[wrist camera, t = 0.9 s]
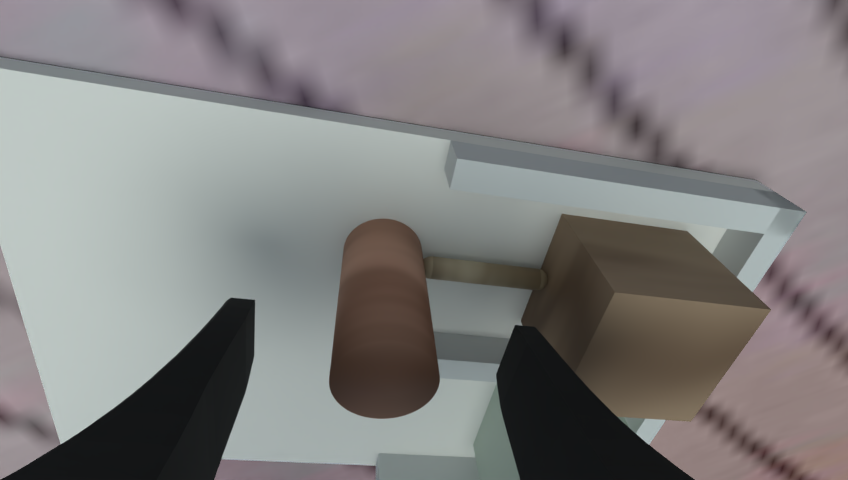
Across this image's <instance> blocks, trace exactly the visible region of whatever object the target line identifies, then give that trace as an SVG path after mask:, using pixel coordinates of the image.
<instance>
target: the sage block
mask: <svg viewBox="0 0 848 480" xmlns="http://www.w3.org/2000/svg"><path fill="white" fill-rule="evenodd" d="M618 418H619V419H620V420H621V421H622V422H623V423H624V424H626V425H627V426H628V424H627V422H626V420H625V418H624V417H618ZM628 427H629V426H628ZM473 447H474V452H475V458H476V463H477V468H478V473H479V479H480V480H520V477H519V474H518V470H517V467H516V463H515V459H514V456H513V452H512V449H511V445H510V442H509V438H508V434H507V431H506V427H505V423H504V420H503V416H502V412H501V408H500V402H499V395H498V388H497V384H496V386H495V389H494V392H493V394H492V397H491V399H490V402H489V405H488V407H487V410H486V412H485V415H484V418H483V420H482V423H481V425H480V428H479V431H478V433H477V436H476V438H475V441H474V444H473Z"/></svg>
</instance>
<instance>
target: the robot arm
mask: <svg viewBox="0 0 848 480" xmlns="http://www.w3.org/2000/svg"><path fill="white" fill-rule="evenodd" d="M254 342H255V300H251V299H241V298H230V299H228V300H227V301H226V302H225V303H224V304H223V306H222V307H221V308H220V309H219V310H218V311H217V313H216V314H215V315H214V316H213V317H212V318H211V319H210V321H209V322H208V323H207V324H206V325H205V326H204V327H203V328H202V329H201V330H200V332H199V333H198V334H197V335H196V336H195V337H194V338H193V339H192V340H191V341H190V342H189V343H188V344H187V345H186V346H185V347H184V348H183V349H182V350H181V351H180V352H179V353H178V354H177V355H176V356H175V357H174V358H173V359H171V360H170V361H169V362H168V363H167V364H166V365H165V366H164V367H163V368H162V369H160V370H159V371H158V372H157V373H156V374H155V375H154V376H153V377H152V378H151V379H149V380H148V381H147V382H146V383H145V384H143V385H142V386H141V387H140V388H139V389H137V390H136V391H135V392H134V393H133V394H131V395H130V396H129V397H127V398H126V399H125V400H124V401H122V402H121V403H120V404H118V405H117V406H116V407H114V408H113V409H112V410H110V411H109V412H108V413H106V414H105V415H103V416H102V417H101V418H99V419H98V420H96V421H95V422H94V423H92V424H91V425H89V426H88V427H87V428H85V429H84V430H82V431H81V432H79V433H78V434H76V435H75V436H73V437H72V438H70V439H69V440H67V441H65V442H64V443H62V444H60V445H59V446H57V447H56V448H54V449H52V450H51V451H49V452H47V453H46V454H44V455H43V456H41V457H39V458H38V459H36V460H34V461H33V462H31V463H30V464H28V465H26V466H24V467H23V468H21V469H19V470H18V471H16V472H14V473H12V474H11V475H9V476H7V477H5V478H3V479H1V480H214V478H215V475H216V472H217V469H218V467H219V464H220V461H221V458H222V456H223V453H224V450H225V448H226V445H227V442H228V439H229V437H230V434H231V431H232V428H233V426H234V423H235V420H236V417H237V415H238V412H239V409H240V406H241V404H242V401H243V398H244V395H245V392H246V389H247V385H248V381H249V377H250V372H251V368H252V364H253V359H254ZM496 380H497V388H498V395H499V402H500V408H501V412H502V416H503V420H504V423H505V427H506V431H507V434H508V438H509V442H510V445H511V449H512V452H513V456H514V459H515V463H516V467H517V470H518V474H519V477H520V480H694V479H693V478H692V477H690V476H689V475H688V474H686V473H685V472H683V471H682V470H681V469H679V468H678V467H677V466H675V465H674V464H673V463H671V462H670V461H669V460H667V459H666V458H665V457H664V456H662V455H661V454H660V453H658V452H657V451H656V450H655V449H653V448H652V447H651V446H650V445H649V444H647V443H646V442H645V441H644V440H643V439H641V438H640V437H639V436H638V435H637V434H636V433H635V432H633V431H632V430H631V429H630V428H629V427H628V426H627V425H626V424H624V423H623V422H622V421H621V420H620V419H619V418H618V417H617V416H616V415H615V414H614V413H613V412H612V411H611V410H610V409H609V408H608V407H607V406H606V405H605V404H604V403H603V402H602V401H601V400H600V399H599V398H598V397H597V396H596V395H595V394H594V393H593V392H592V391H591V390H590V389H589V388H588V387H587V386H586V385H585V383H584V382H583V381H582V380H581V379H580V378H579V377H578V376H577V375H576V373H575V372H574V371H573V370H572V369H571V368H570V367H569V365H568V364H567V363H566V362H565V361H564V360H563V359H562V357H561V356H560V355H559V354H558V353H557V352H556V350H555V349H554V348H553V347H552V346H551V344H550V343H549V342H548V341H547V340H546V339H545V337H544V336H543V335H542V334H541V333H540V332H539V331H538V330H537V328H536V327H532V326H521V325H515V326H514V329H513V331H512V334H511V337H510V339H509V342H508V344H507V347H506V350H505V352H504V355H503V357H502V360H501V363H500V365H499V368H498V371H497V373H496Z"/></svg>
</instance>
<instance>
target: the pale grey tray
mask: <svg viewBox="0 0 848 480" xmlns="http://www.w3.org/2000/svg"><path fill="white" fill-rule="evenodd" d="M562 214H568V215H575V216H583V217H590V218H597V219H604V220H611V221H619V222H626V223H633V224H640V225H647V226H655V227H662V228H669V229H676V230H683V231H688V232H689V233H690V234H691V235H692V236H693V237H694V238H695V239H696V240H697V241H699V242H700V243H701V244H702V245H703V246H704V247H705V248H706V249H707V250H708V251H709V252H710V253H711V254H712V255H713V256H714V257H716V258H717V259H718V260H719V261H720V262H721V263H722V264H723V265H724V266H725V267H726V268H727V269H728V270H729V271H730V272H731V273H733V274H734V275H735V276H736V277H737V278H738V279H739V280H740V281H741V282H742V283H743V284H744V285H745V286H746V287H747V288H749V289H750V290H751V291H752V292H753V291H754V289H755V288H756V286H757V285H758V283H759V282H760V280H761V279H762V277H763V276H764V274H765V273H766V271H767V270H768V268H769V267H770V266H771V264H772V263H773V261H774V260H775V258H776V257H777V255H778V254H779V252H780V251H781V249H782V248H783V246H784V245H785V243H786V242H787V240H788V239H789V237H790V236H791V235H792V233H793V232H794V230H795V229H796V227H797V226H798V224H799V223H800V221H801V220H802V218H803V217H804V215H805V214H806V211H804V210H803V209H801V208H799V207H798V206H796V205H795V204H793V203H792V202H790V201H788V200H787V199H785V198H784V197H782V196H781V195H779V194H777V193H776V192H774V191H773V190H771V189H769V188H768V187H766V186H765V185H763V184H762V183H760V182H758V181H757V180H751V179H745V178H739V177H733V176H727V175H721V174H715V173H708V172H702V171H696V170H690V169H684V168H678V167H672V166H666V165H659V164H653V163H647V162H641V161H635V160H629V159H623V158H617V157H610V156H604V155H598V154H592V153H586V152H580V151H574V150H567V149H561V148H555V147H549V146H543V145H537V144H531V143H525V142H518V141H512V140H506V139H500V138H494V137H488V136H482V135H476V134H469V133H463V132H457V131H451V130H445V129H439V128H433V127H427V126H420V125H414V124H408V123H402V122H396V121H390V120H384V119H377V118H371V117H365V116H359V115H353V114H347V113H341V112H335V111H328V110H322V109H316V108H310V107H304V106H298V105H292V104H286V103H279V102H273V101H267V100H261V99H255V98H249V97H243V96H237V95H230V94H224V93H218V92H212V91H206V90H200V89H194V88H188V87H181V86H175V85H169V84H163V83H157V82H151V81H145V80H138V79H132V78H126V77H120V76H114V75H108V74H102V73H96V72H89V71H83V70H77V69H71V68H65V67H59V66H53V65H47V64H40V63H34V62H28V61H22V60H16V59H10V58H4V57H0V245H1V249H2V252H3V255H4V259H5V262H6V265H7V269H8V272H9V275H10V278H11V282H12V285H13V288H14V292H15V295H16V298H17V302H18V305H19V308H20V312H21V315H22V318H23V321H24V325H25V328H26V331H27V335H28V338H29V341H30V345H31V348H32V351H33V355H34V358H35V361H36V364H37V368H38V371H39V374H40V378H41V381H42V384H43V388H44V391H45V394H46V398H47V401H48V404H49V407H50V411H51V414H52V417H53V421H54V424H55V427H56V431H57V434H58V437H59V441H60V444H62V443H64V442H65V441H67V440H69V439H70V438H72V437H73V436H75V435H76V434H78V433H79V432H81V431H82V430H84V429H85V428H87V427H88V426H89V425H91V424H92V423H94V422H95V421H96V420H98V419H99V418H101V417H102V416H103V415H105V414H106V413H108V412H109V411H110V410H112V409H113V408H114V407H116V406H117V405H118V404H120V403H121V402H122V401H124V400H125V399H126V398H127V397H129V396H130V395H131V394H133V393H134V392H135V391H136V390H137V389H139V388H140V387H141V386H142V385H143V384H145V383H146V382H147V381H148V380H149V379H151V378H152V377H153V376H154V375H155V374H156V373H157V372H158V371H159V370H160V369H162V368H163V367H164V366H165V365H166V364H167V363H168V362H169V361H170V360H171V359H173V358H174V357H175V356H176V355H177V354H178V353H179V352H180V351H181V350H182V349H183V348H184V347H185V346H186V345H187V344H188V343H189V342H190V341H191V340H192V339H193V338H194V337H195V336H196V335H197V334H198V333H199V332H200V330H201V329H202V328H203V327H204V326H205V325H206V324H207V323H208V322H209V321H210V319H211V318H212V317H213V316H214V315H215V314H216V313H217V311H218V310H219V309H220V308H221V307H222V306H223V304H224V303H225V302H226V301H227V300H228V299H230V298H241V299H251V300H255V342H254V359H253V364H252V368H251V372H250V377H249V381H248V385H247V389H246V392H245V395H244V398H243V401H242V404H241V406H240V409H239V412H238V415H237V417H236V420H235V423H234V426H233V428H232V431H231V434H230V437H229V439H228V442H227V445H226V448H225V450H224V453H223V456H222V458H221V459H228V460H252V461H276V462H300V463H324V464H348V465H372V466H376V480H480V479H479V473H478V468H477V463H476V458H475V452H474V447H473V444H474V441H475V438H476V436H477V433H478V431H479V428H480V425H481V423H482V420H483V418H484V415H485V412H486V410H487V407H488V405H489V402H490V399H491V397H492V394H493V392H494V389H495V386H496V384H497V380H496V373H497V371H498V368H499V365H500V363H501V360H502V357H503V355H504V352H505V350H506V347H507V344H508V342H509V339H510V337H511V334H512V331H513V329H514V326H515V325H521V326H522V323H521V319H522V316H523V314H524V311H525V308H526V306H527V303H528V301H529V298H530V295H531V293H532V290H528V289H519V288H510V287H501V286H491V285H482V284H473V283H464V282H455V281H445V280H436V279H428V278H426V282H427V289H428V296H429V303H430V310H431V317H432V324H433V331H434V338H435V346H436V353H437V360H438V367H439V374H440V383H439V387H438V390H437V392H436V394H435V395H434V397H433V398H432V399H431V400H430V401H429V402H428V403H427V404H426V405H425V406H423V407H422V408H420V409H418V410H417V411H415V412H413V413H410V414H407V415H405V416H401V417H396V418H389V419H375V418H368V417H363V416H360V415H357V414H354V413H352V412H350V411H348V410H346V409H345V408H343V407H342V406H341V405H340V404H339V403H338V402H337V401H336V400H335V399H334V397H333V395H332V394H331V391H330V387H329V375H330V366H331V357H332V348H333V339H334V330H335V321H336V312H337V303H338V294H339V285H340V276H341V267H342V258H343V249H344V244H345V241H346V239H347V237H348V235H349V234H350V233H351V232H352V231H353V230H354V229H355V228H356V227H357V226H359V225H360V224H362V223H364V222H367V221H370V220H374V219H392V220H396V221H399V222H401V223H404V224H405V225H407V226H408V227H410V228H411V229H412V230H413V231H414V232H415V233H416V235H417V236H418V238H419V240H420V243H421V247H422V254H423V259H424V258H426V257H428V256H434V257H442V258H451V259H460V260H468V261H477V262H485V263H494V264H502V265H511V266H519V267H528V268H536V269H541V267H542V264H543V262H544V259H545V256H546V254H547V251H548V248H549V246H550V243H551V241H552V238H553V235H554V233H555V230H556V228H557V225H558V222H559V220H560V217H561V215H562ZM624 418H625V420H626V422H627V424H628V426H629V428H630V429H631V430H632V431H633V432H635V433H636V434H637V435H638V436H639V437H640V438H641V439H643V440H644V441H645V442H646V443H647V444H650V443H651V441H652V440H653V438H654V437H655V435H656V434H657V432H658V431H659V429H660V428H661V426H662V425H663V423H664V422H665V420H659V419H644V418H628V417H624Z"/></svg>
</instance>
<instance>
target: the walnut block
mask: <svg viewBox="0 0 848 480" xmlns="http://www.w3.org/2000/svg"><path fill="white" fill-rule="evenodd" d="M426 278H428V279H436V280H445V281H455V282H464V283H473V284H482V285H491V286H501V287H510V288H519V289H528V290H532V293H531V295H530V298H529V301H528V303H527V306H526V308H525V311H524V314H523V316H522V319H521V323H522V326H532V327H536V328H537V330H538V331H539V332H540V333H541V334H542V335H543V336H544V337H545V339H546V340H547V341H548V342H549V343H550V344H551V346H552V347H553V348H554V349H555V350H556V352H557V353H558V354H559V355H560V356H561V357H562V359H563V360H564V361H565V362H566V363H567V364H568V365H569V367H570V368H571V369H572V370H573V371H574V372H575V373H576V375H577V376H578V377H579V378H580V379H581V380H582V381H583V382H584V383H585V385H586V386H587V387H588V388H589V389H590V390H591V391H592V392H593V393H594V394H595V395H596V396H597V397H598V398H599V399H600V400H601V401H602V402H603V403H604V404H605V405H606V406H607V407H608V408H609V409H610V410H611V411H612V412H613V413H614V414H615V415H616V416H617V417H628V418H644V419H659V420H675V421H691V420H692V419H693V418H694V416H695V415H696V414H697V412H698V411H699V409H700V408H701V407H702V405H703V404H704V402H705V401H706V400H707V398H708V397H709V395H710V394H711V393H712V391H713V390H714V388H715V387H716V386H717V384H718V383H719V382H720V380H721V379H722V377H723V376H724V375H725V373H726V372H727V370H728V369H729V368H730V366H731V365H732V363H733V362H734V361H735V359H736V358H737V357H738V355H739V354H740V352H741V351H742V350H743V348H744V347H745V345H746V344H747V343H748V341H749V340H750V338H751V337H752V336H753V334H754V333H755V331H756V330H757V329H758V327H759V326H760V325H761V323H762V322H763V320H764V319H765V318H766V316H767V315H768V313H769V312H770V311H771V309H770V308H769V307H768V306H767V305H766V304H764V303H763V302H762V301H761V300H760V299H759V298H758V297H757V296H756V295H755V294H754V293H753V292H752V291H751V290H750V289H749V288H747V287H746V286H745V285H744V284H743V283H742V282H741V281H740V280H739V279H738V278H737V277H736V276H735V275H734V274H733V273H731V272H730V271H729V270H728V269H727V268H726V267H725V266H724V265H723V264H722V263H721V262H720V261H719V260H718V259H717V258H716V257H714V256H713V255H712V254H711V253H710V252H709V251H708V250H707V249H706V248H705V247H704V246H703V245H702V244H701V243H700V242H699V241H697V240H696V239H695V238H694V237H693V236H692V235H691V234H690V233H689V232H688V231H683V230H676V229H669V228H662V227H655V226H647V225H640V224H633V223H626V222H619V221H611V220H604V219H597V218H590V217H583V216H575V215H568V214H562V215H561V217H560V220H559V222H558V225H557V228H556V230H555V233H554V235H553V238H552V241H551V243H550V246H549V248H548V251H547V254H546V256H545V259H544V262H543V264H542V267H541V269H536V268H528V267H519V266H511V265H502V264H494V263H485V262H477V261H468V260H460V259H451V258H442V257H434V256H428V257H426V258H424V259H423V254H422V247H421V243H420V240H419V238H418V236H417V235H416V233H415V232H414V231H413V230H412V229H411V228H410V227H408V226H407V225H405V224H404V223H401V222H399V221H396V220H392V219H374V220H370V221H367V222H364V223H362V224H360V225H359V226H357V227H356V228H355V229H354V230H353V231H352V232H351V233H350V234H349V235H348V237H347V239H346V241H345V244H344V249H343V258H342V267H341V276H340V285H339V294H338V303H337V312H336V321H335V330H334V339H333V348H332V357H331V366H330V375H329V387H330V391H331V394H332V395H333V397H334V399H335V400H336V401H337V402H338V403H339V404H340V405H341V406H342V407H343V408H345V409H346V410H348V411H350V412H352V413H354V414H357V415H360V416H363V417H368V418H375V419H389V418H396V417H401V416H405V415H407V414H410V413H413V412H415V411H417V410H418V409H420V408H422V407H423V406H425V405H426V404H427V403H428V402H429V401H430V400H431V399H432V398H433V397H434V395H435V394H436V392H437V390H438V387H439V383H440V374H439V367H438V360H437V353H436V346H435V338H434V331H433V324H432V317H431V310H430V303H429V296H428V289H427V282H426Z"/></svg>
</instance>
